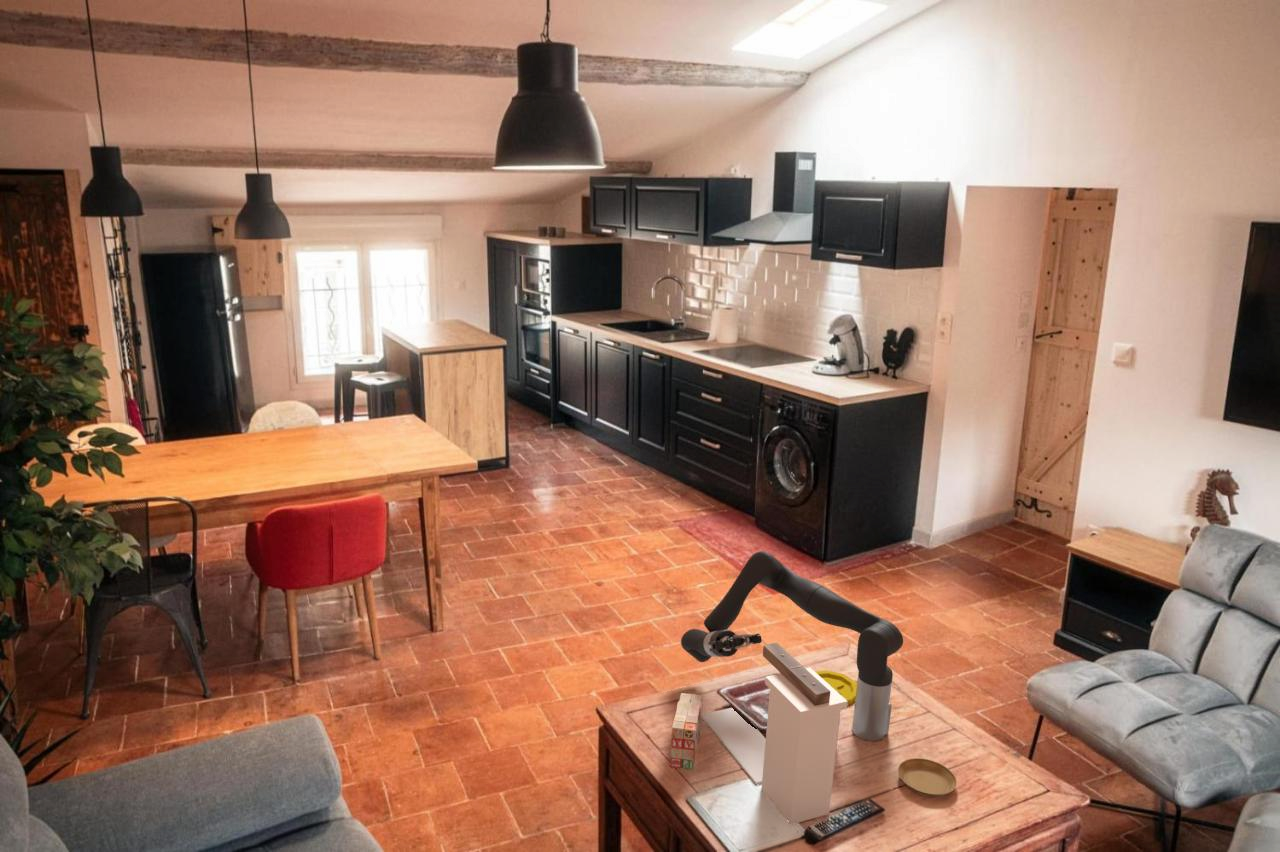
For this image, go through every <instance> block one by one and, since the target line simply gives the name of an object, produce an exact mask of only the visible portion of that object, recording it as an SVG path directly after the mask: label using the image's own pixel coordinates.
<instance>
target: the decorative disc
mask: <svg viewBox="0 0 1280 852" xmlns="http://www.w3.org/2000/svg"><path fill="white" fill-rule="evenodd" d="M814 671H815V670H814ZM815 672H816V673H817V674H818V675H819V676H820V677H821V678H822V679H823V680H825V681H826V682H827V683H828V684H829V685H830V686H831V687H832V688H833V689H835V690H836V691H837V692H838V693H839V694H840V695H841V696H842V697H844V698H845V699H846V700H847V701H848V703H847V706H849V705H852V704H853V703H855V699H856V690H857V681H855V680H853V679H852V678H850V677H849V676H847V675H846V674H844V673H841V672H836V671H831V670H828V669H825V670H818V671H817V670H816V671H815Z"/></svg>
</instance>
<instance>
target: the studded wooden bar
mask: <svg viewBox="0 0 1280 852" xmlns="http://www.w3.org/2000/svg"><path fill="white" fill-rule="evenodd" d="M762 657H764V658H765V660H766V661H767V662H769V664H771V665H772V666H773V667H774V668H775V669H776V670H777V671H778V672H779V674H782V675H783V676H784V677H785V678H786V679H787V680H788V681H790V682H791V683H792V684H793V685H794V686H795V687H796V688H797V689H798V690H799V691H800V692H801V693H802V694H803V695H804V696H805V697H806V698H807V699H808V700H809V701H810V702H811V703H812V704H813V705H815V706H817V705H821V704H825V703H829V701H830V690H828V689H827V688H826V687H825V686H824V685H823V684H822V683H821V682H820V681H819V680H817V679H816V678H815V677H814V676H813V675H812V674H811V673H810V672H809V671H808V670H806V669H805V666H803V664H801V663H800V662H799V661H798V660H797V659H796V658H795V657H793V656H792V655H791V654H790V653H789V652H788V651H787V650H786V649H784V647H782V646H781V645H780V644H779V643H778V642H773V643H769V644H763V647H762Z"/></svg>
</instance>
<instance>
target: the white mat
mask: <svg viewBox="0 0 1280 852" xmlns="http://www.w3.org/2000/svg"><path fill="white" fill-rule="evenodd" d="M701 720H703V722H704V723H705V724H706V725H707V726H708V728H709V729H710V730H711V731H712V733H713V734H714V735H715V737H717V739H718V740H719V742H721V743H722V746H724V747H725V748H726V750H727V751H728V752H729V753H730V754H731V756H732V758H733V759H735V761H736V762H737V763H738V764H739V766H740V767H741V768H742V770H744V772H745V773H746V775H748V777H749V778H750V779H751V780H752V782H753V781H754V782H755V783H756V784H755V783H754V782H753V783H754V784H755V785H760V784H762V777H763V765H764V754H765V742H766V736H764V734H763V733H761V732H760V730H759V729H758V728H757V729H755V728H754V727H752V726H751V725H750V724H748V723H747V722H746V721H745V720H744V719H743V718H742V717H741V716H740V715H739V714H738V713H737V712H736V711H734V709H733V708H732V707H729V708H723V709H720V710H716V711H710V712H707V713H702V714H701Z"/></svg>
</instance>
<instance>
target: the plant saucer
mask: <svg viewBox="0 0 1280 852" xmlns="http://www.w3.org/2000/svg"><path fill="white" fill-rule="evenodd" d="M897 775H898V776H899V779H900V780H901V781H902V782H903V784H905V786H906V787H907V788H909V789H910V790H911V791H913V792H914V793H915V794H918V795H921V796H924V797H928V798H940V797H943V796H946V795H948V794H951V792H954V790H955V789H956V787H957V785H958V781H957V778H956V776H955V774H954V772H953V771H951V770H950V768H948V767H947V766H945V765H943V764H941V763H940V762H937V761H934V760H931V759H928V758H921V757H920V758H919V757H917V758H916V757H914V758H908V759H906V760H904V761H902V762H900V763H899V765H898V767H897Z"/></svg>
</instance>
